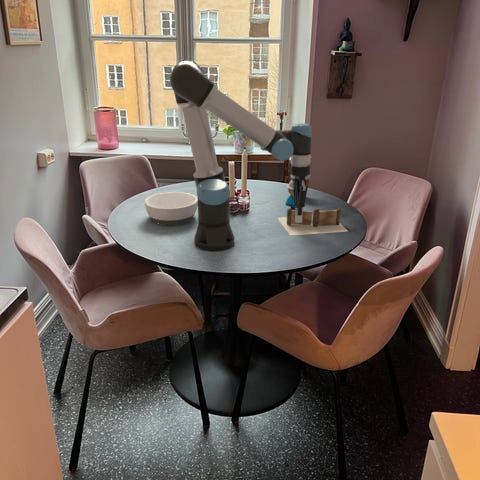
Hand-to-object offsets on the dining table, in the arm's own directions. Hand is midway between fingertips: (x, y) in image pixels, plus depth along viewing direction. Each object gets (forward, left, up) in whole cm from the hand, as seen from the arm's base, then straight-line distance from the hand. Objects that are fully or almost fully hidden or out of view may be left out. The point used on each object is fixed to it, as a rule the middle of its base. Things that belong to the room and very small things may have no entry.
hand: (298, 222), depth 196 cm
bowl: (-50, +21, -3) cm, 54 cm away
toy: (+4, +19, -3) cm, 20 cm away
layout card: (+6, +2, -3) cm, 7 cm away
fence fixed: (+12, 0, -2) cm, 12 cm away
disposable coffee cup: (+12, +38, -3) cm, 40 cm away
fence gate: (+1, +2, -2) cm, 3 cm away
